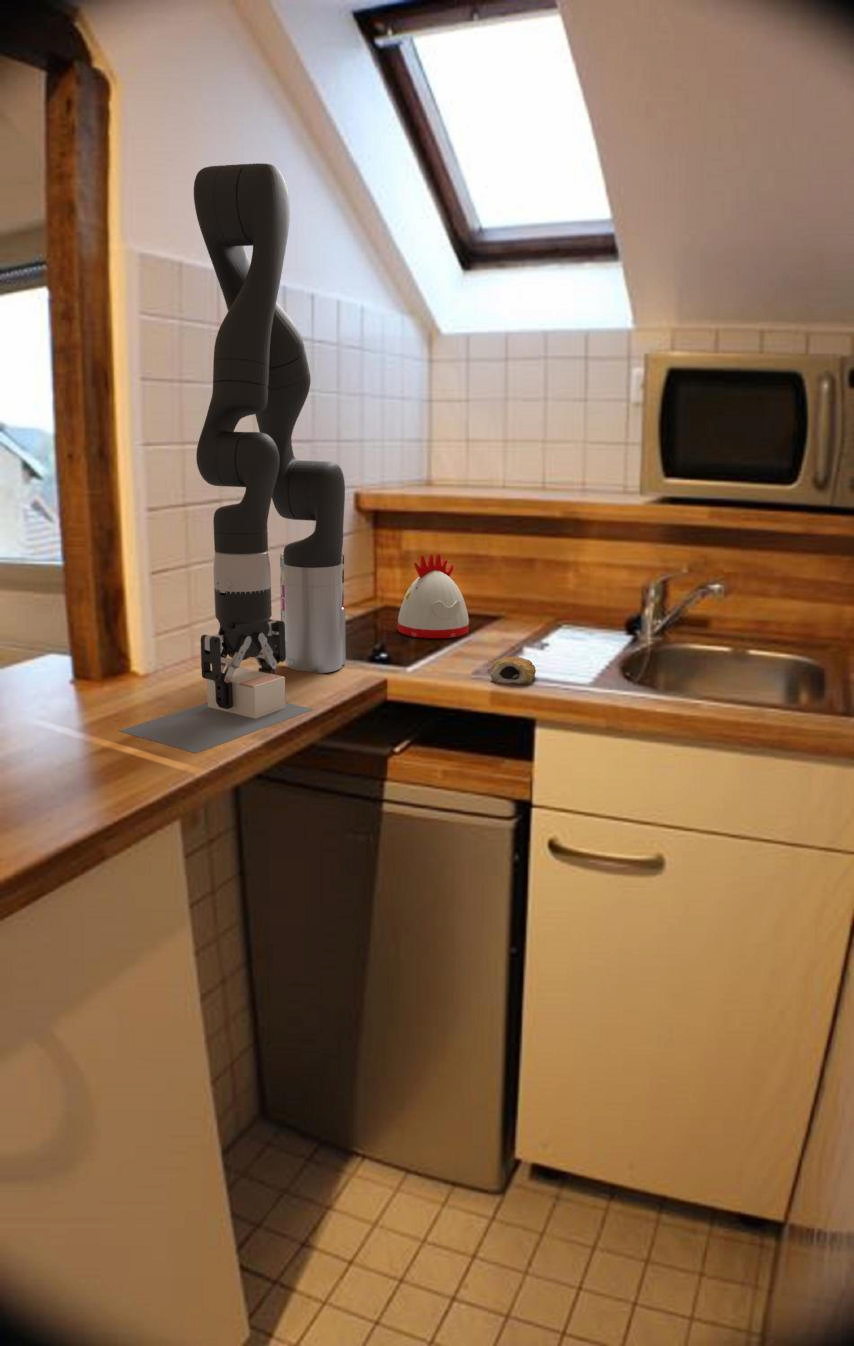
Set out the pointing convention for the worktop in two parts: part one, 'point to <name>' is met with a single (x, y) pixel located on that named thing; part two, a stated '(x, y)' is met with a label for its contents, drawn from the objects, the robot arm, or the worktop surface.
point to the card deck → (252, 693)
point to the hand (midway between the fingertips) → (246, 700)
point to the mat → (207, 726)
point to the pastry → (513, 670)
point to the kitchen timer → (433, 603)
